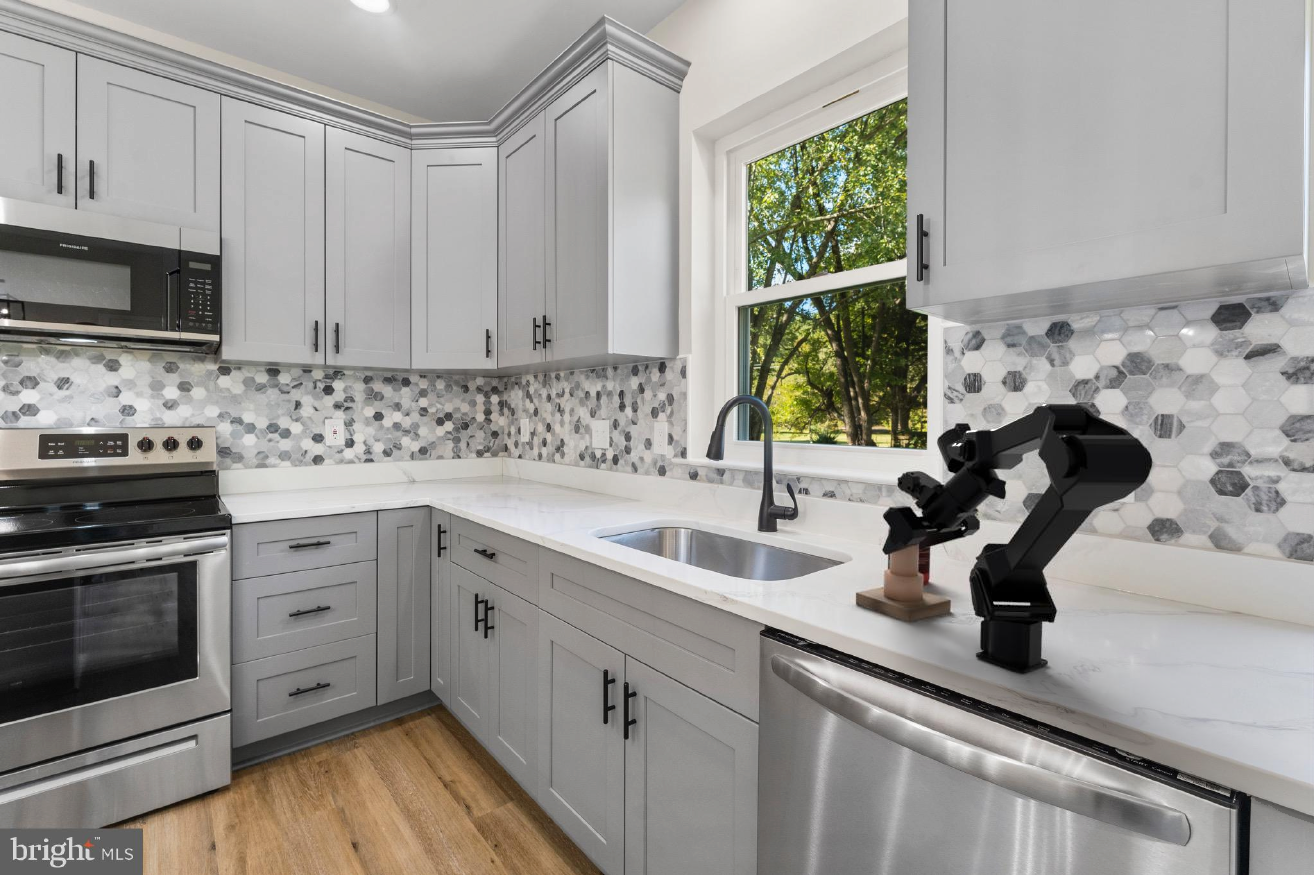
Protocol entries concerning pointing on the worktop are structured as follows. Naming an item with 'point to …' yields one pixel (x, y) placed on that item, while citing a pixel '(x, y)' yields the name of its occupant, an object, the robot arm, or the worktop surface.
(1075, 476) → the robot arm
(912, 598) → the peach chess pawn
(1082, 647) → the worktop surface
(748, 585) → the worktop surface
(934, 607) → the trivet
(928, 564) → the canned food
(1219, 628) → the worktop surface
